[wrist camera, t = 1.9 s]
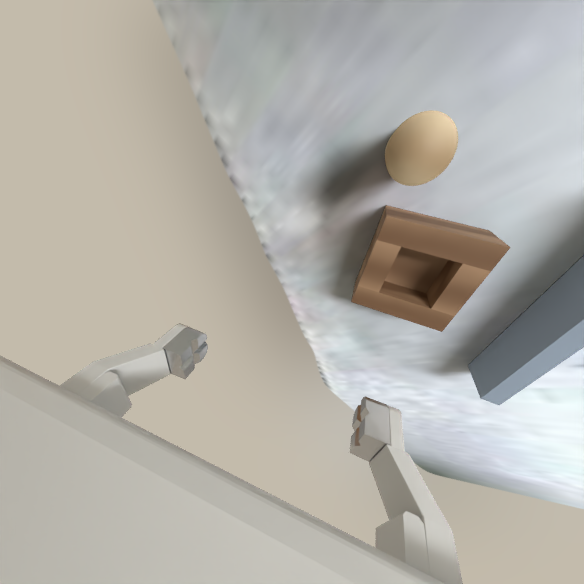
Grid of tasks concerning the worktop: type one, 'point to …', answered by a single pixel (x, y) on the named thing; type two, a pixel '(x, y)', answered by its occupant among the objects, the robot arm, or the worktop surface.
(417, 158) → the dowel
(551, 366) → the wall
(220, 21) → the worktop surface
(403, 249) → the block
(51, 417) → the robot arm
